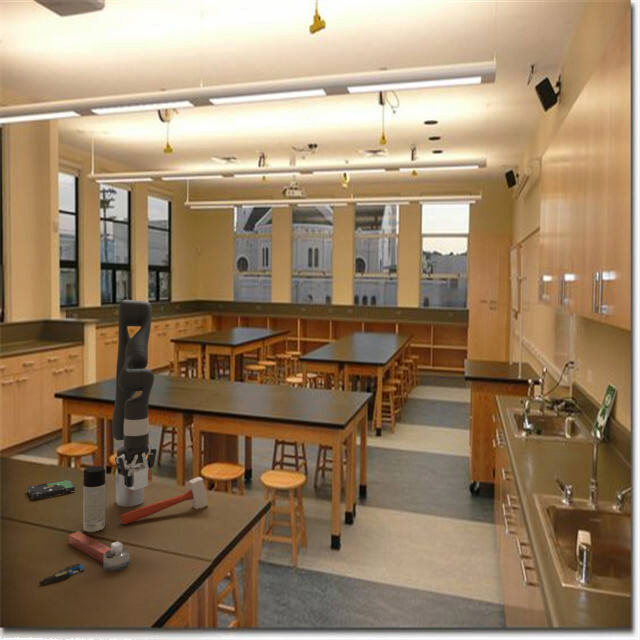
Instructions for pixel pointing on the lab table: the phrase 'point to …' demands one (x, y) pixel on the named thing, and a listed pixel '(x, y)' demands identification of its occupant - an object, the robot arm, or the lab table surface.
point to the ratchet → (102, 551)
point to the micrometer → (62, 574)
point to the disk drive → (50, 489)
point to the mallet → (171, 502)
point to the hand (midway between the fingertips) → (136, 484)
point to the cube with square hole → (139, 477)
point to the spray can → (94, 499)
